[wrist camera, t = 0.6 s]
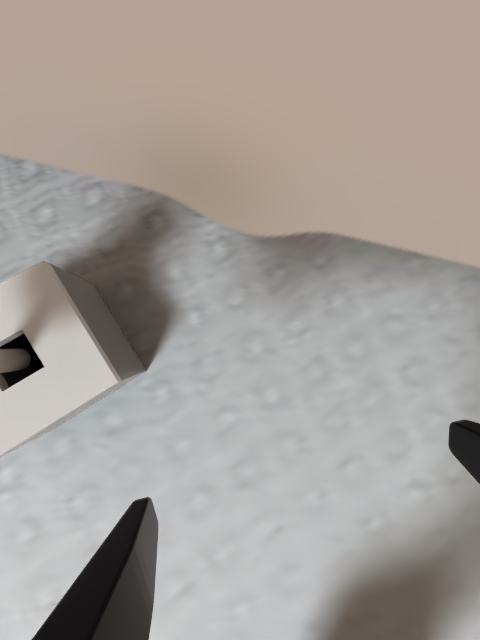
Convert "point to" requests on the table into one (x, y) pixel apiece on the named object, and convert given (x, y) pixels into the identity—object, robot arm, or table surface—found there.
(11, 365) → the plunger
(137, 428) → the table surface
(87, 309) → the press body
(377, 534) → the table surface
